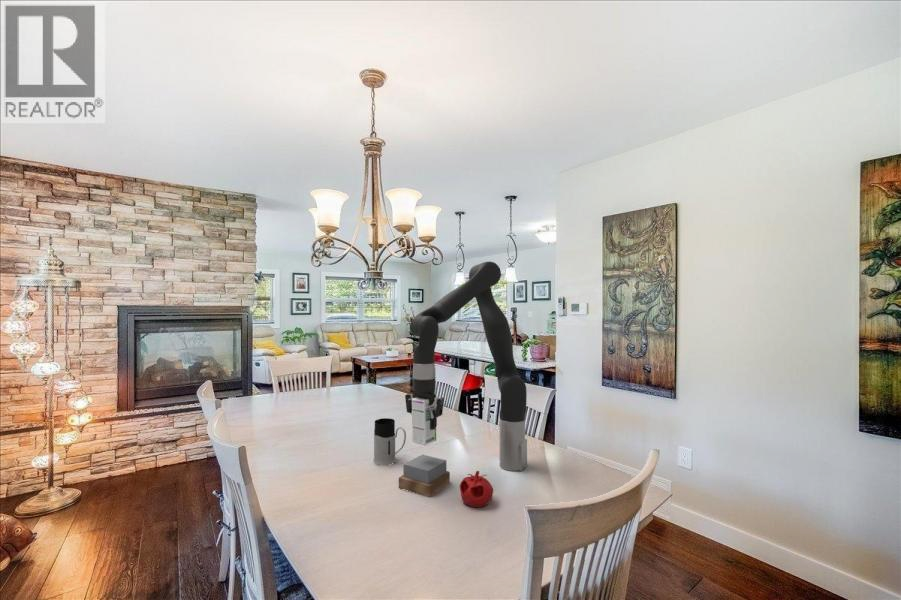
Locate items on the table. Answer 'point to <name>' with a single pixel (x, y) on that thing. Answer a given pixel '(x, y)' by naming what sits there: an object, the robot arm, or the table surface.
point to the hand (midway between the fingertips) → (424, 427)
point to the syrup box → (422, 422)
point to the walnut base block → (424, 485)
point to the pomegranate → (476, 490)
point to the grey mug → (385, 441)
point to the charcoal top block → (424, 468)
